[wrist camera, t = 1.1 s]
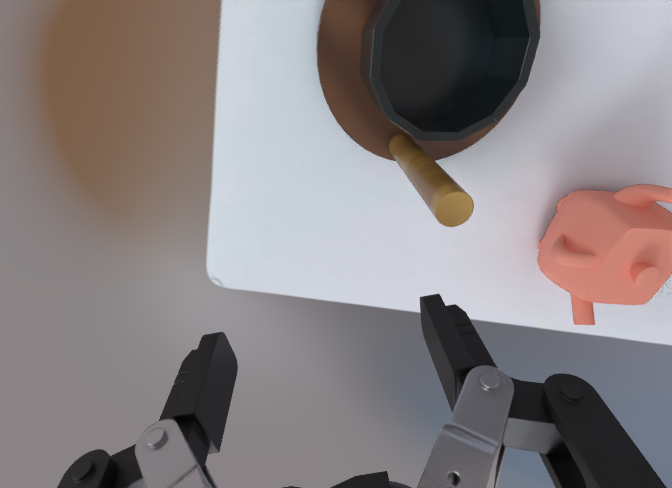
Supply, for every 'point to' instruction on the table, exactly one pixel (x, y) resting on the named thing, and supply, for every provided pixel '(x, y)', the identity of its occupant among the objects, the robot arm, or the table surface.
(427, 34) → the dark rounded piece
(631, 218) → the teapot
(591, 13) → the table surface
